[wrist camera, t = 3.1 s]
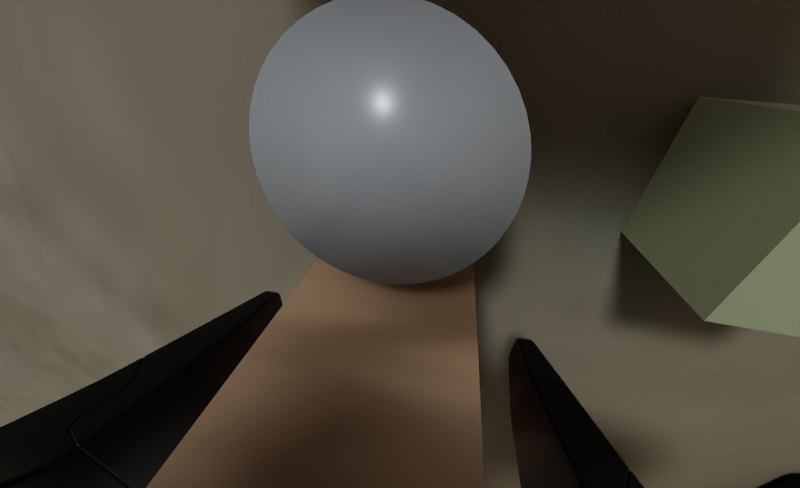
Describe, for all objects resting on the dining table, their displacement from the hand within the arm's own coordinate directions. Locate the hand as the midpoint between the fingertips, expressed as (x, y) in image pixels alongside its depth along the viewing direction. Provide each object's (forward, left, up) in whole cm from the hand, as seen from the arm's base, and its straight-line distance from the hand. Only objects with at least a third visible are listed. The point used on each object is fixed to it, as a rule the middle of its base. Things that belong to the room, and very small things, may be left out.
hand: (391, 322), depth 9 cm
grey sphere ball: (0, -6, -2) cm, 6 cm away
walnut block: (0, 0, -2) cm, 2 cm away
